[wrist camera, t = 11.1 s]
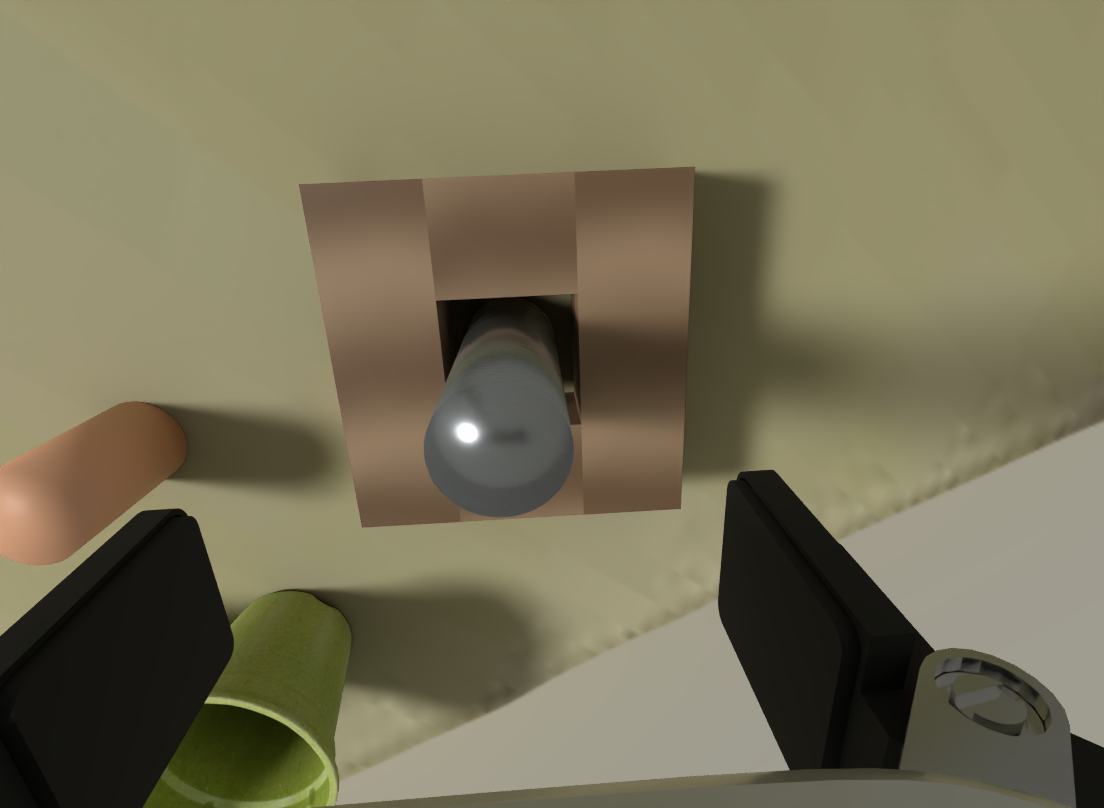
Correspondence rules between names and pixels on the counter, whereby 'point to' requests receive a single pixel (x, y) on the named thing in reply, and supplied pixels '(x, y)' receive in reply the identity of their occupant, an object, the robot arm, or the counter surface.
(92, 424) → the short pin
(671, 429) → the socket block
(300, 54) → the counter surface
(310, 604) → the plant pot
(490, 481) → the long pin
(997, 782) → the robot arm
